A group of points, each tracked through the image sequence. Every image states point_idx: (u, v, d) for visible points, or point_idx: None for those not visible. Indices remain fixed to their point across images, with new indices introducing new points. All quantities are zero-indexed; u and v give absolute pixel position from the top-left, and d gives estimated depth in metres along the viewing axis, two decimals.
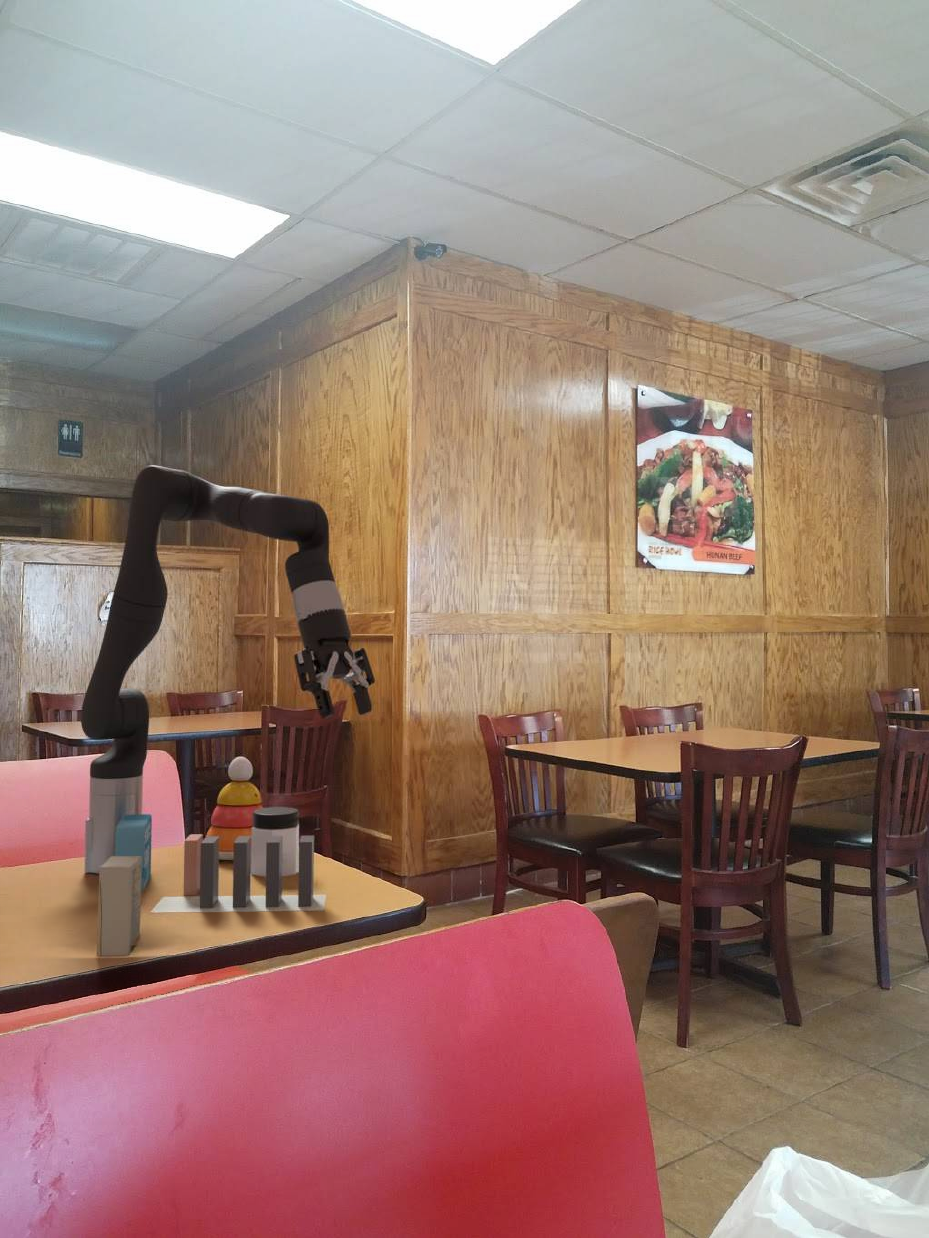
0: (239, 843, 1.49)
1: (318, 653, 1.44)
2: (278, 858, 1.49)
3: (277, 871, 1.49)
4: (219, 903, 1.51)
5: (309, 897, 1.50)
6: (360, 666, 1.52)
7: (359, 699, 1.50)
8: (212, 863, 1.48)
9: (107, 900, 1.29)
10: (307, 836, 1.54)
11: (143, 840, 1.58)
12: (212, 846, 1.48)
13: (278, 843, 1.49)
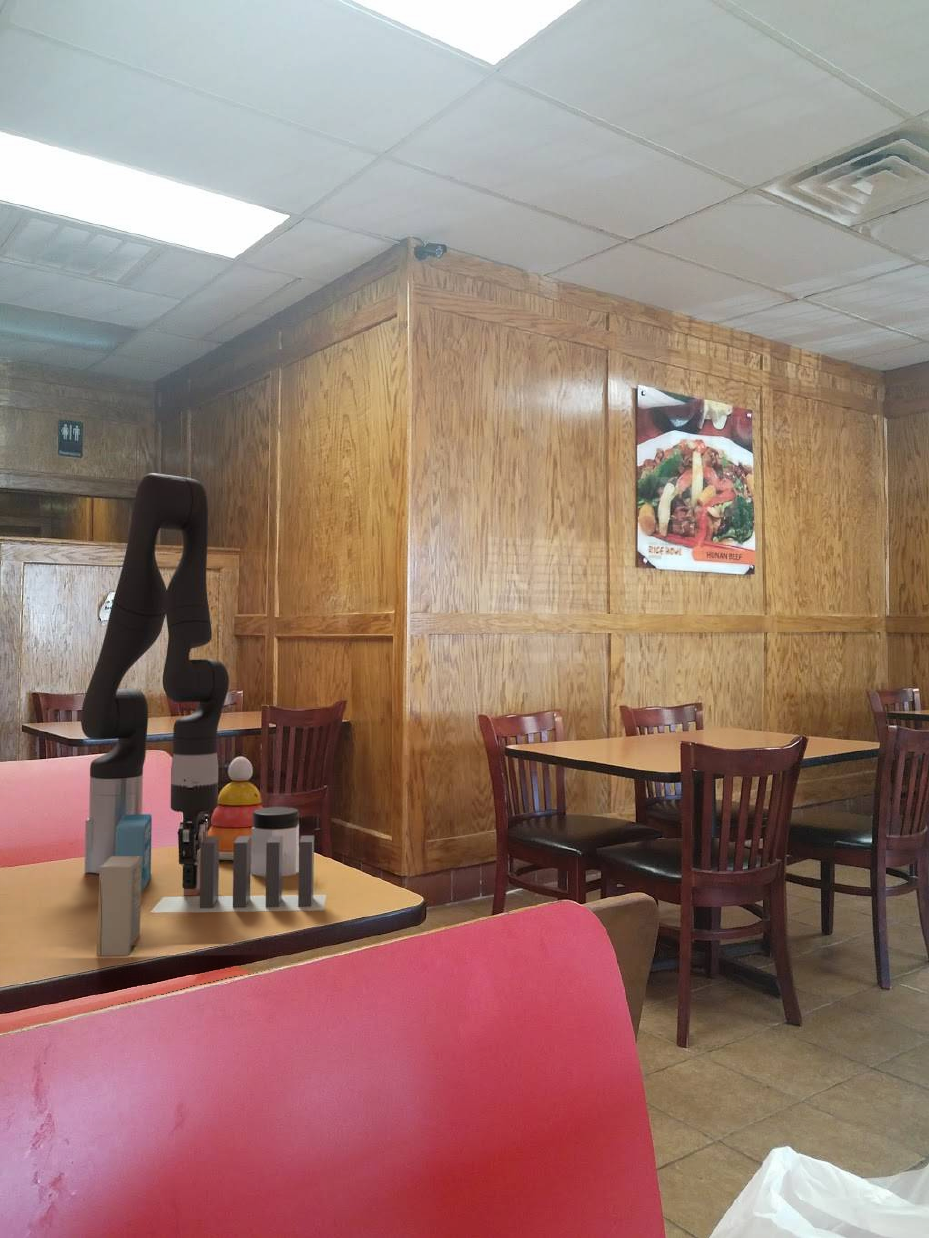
0: (239, 843, 1.49)
1: (195, 826, 1.55)
2: (278, 858, 1.49)
3: (277, 871, 1.49)
4: (219, 903, 1.51)
5: (309, 897, 1.50)
6: None
7: None
8: (212, 863, 1.48)
9: (107, 900, 1.29)
10: (307, 836, 1.54)
11: (143, 840, 1.58)
12: (212, 846, 1.48)
13: (278, 843, 1.49)
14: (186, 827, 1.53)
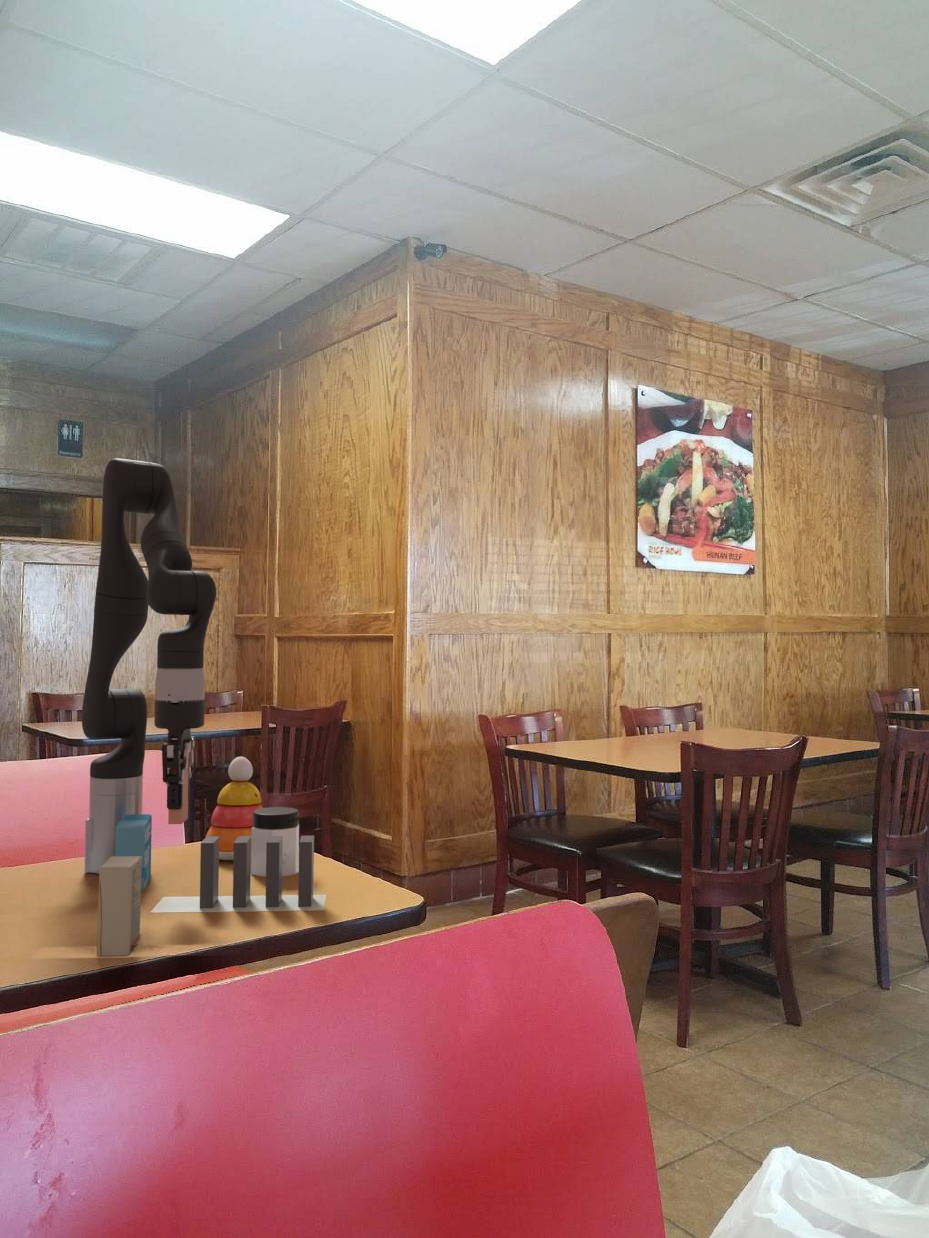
0: (239, 843, 1.49)
1: (180, 743, 1.47)
2: (278, 858, 1.49)
3: (277, 871, 1.49)
4: (219, 903, 1.51)
5: (309, 897, 1.50)
6: None
7: None
8: (212, 863, 1.48)
9: (107, 900, 1.29)
10: (307, 836, 1.54)
11: (143, 840, 1.58)
12: (212, 846, 1.48)
13: (278, 843, 1.49)
14: (170, 743, 1.45)
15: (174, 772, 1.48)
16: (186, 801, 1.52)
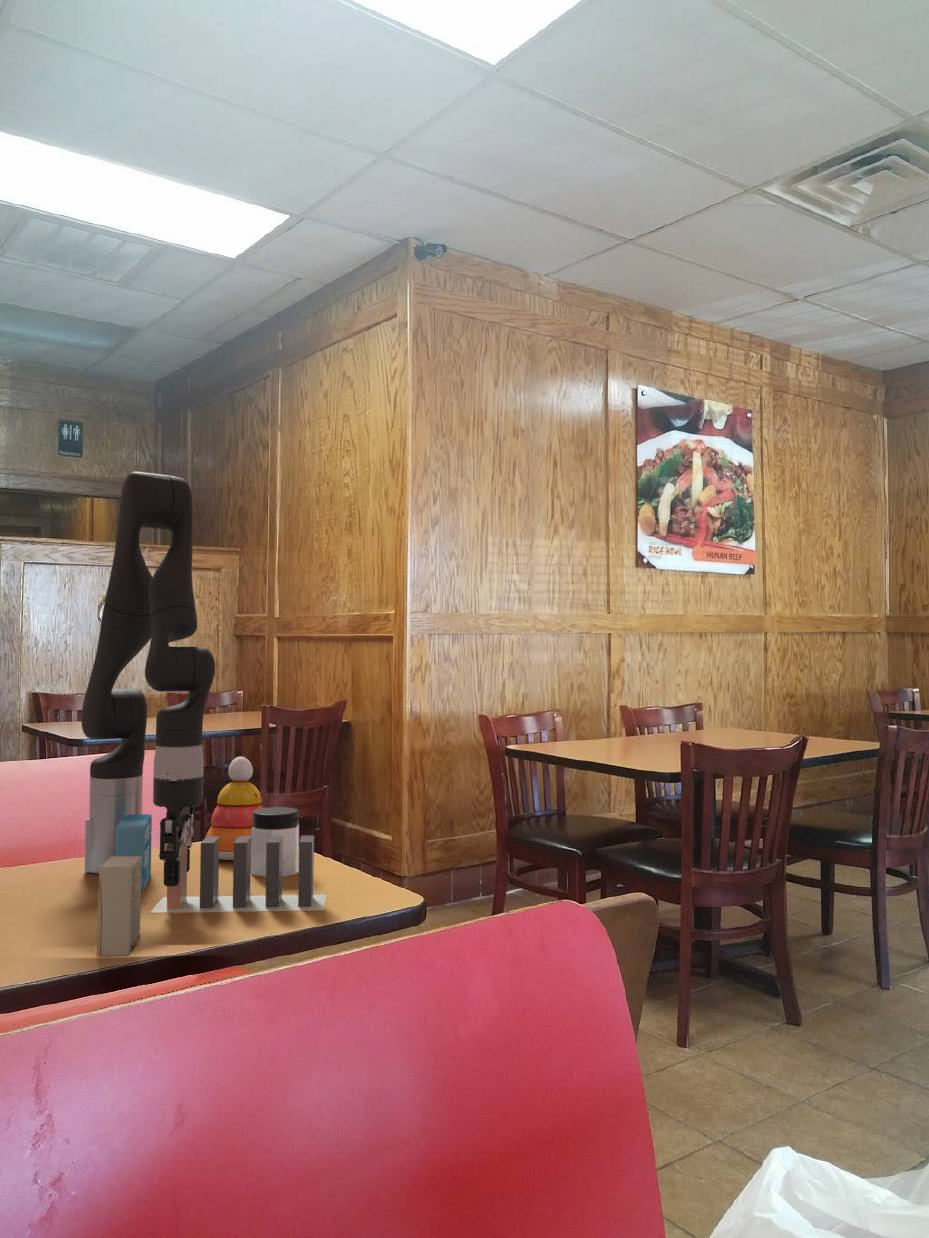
0: (239, 843, 1.49)
1: (179, 821, 1.47)
2: (278, 858, 1.49)
3: (277, 871, 1.49)
4: (219, 903, 1.51)
5: (309, 897, 1.50)
6: None
7: None
8: (212, 863, 1.48)
9: (107, 900, 1.29)
10: (307, 836, 1.54)
11: (143, 840, 1.58)
12: (212, 846, 1.48)
13: (278, 843, 1.49)
14: None
15: None
16: (185, 883, 1.51)
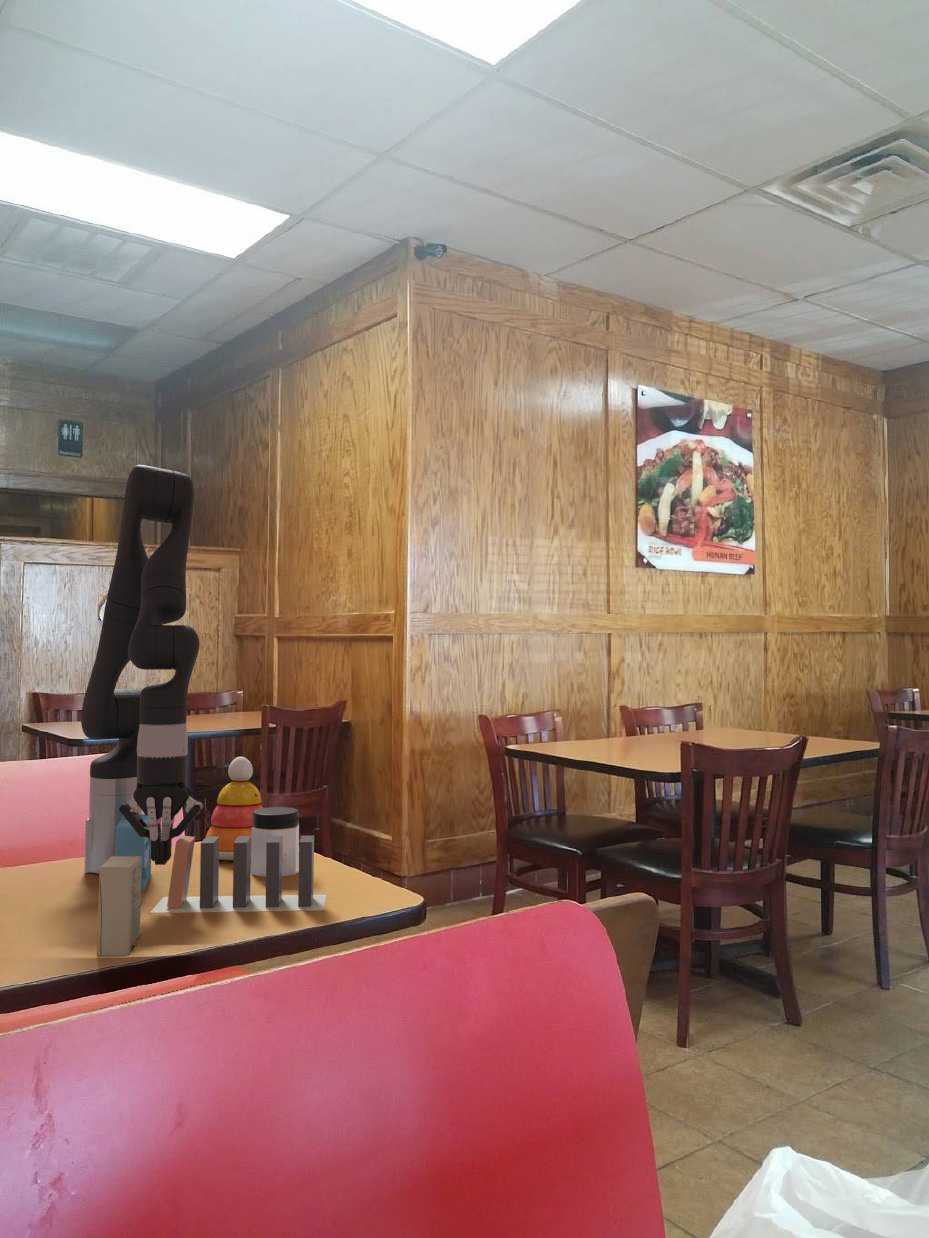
0: (239, 843, 1.49)
1: (136, 799, 1.49)
2: (278, 858, 1.49)
3: (277, 871, 1.49)
4: (219, 903, 1.51)
5: (309, 897, 1.50)
6: None
7: None
8: (212, 863, 1.48)
9: (107, 900, 1.29)
10: (307, 836, 1.54)
11: (143, 840, 1.58)
12: (212, 846, 1.48)
13: (278, 843, 1.49)
14: (128, 801, 1.50)
15: (179, 856, 1.48)
16: (187, 883, 1.52)
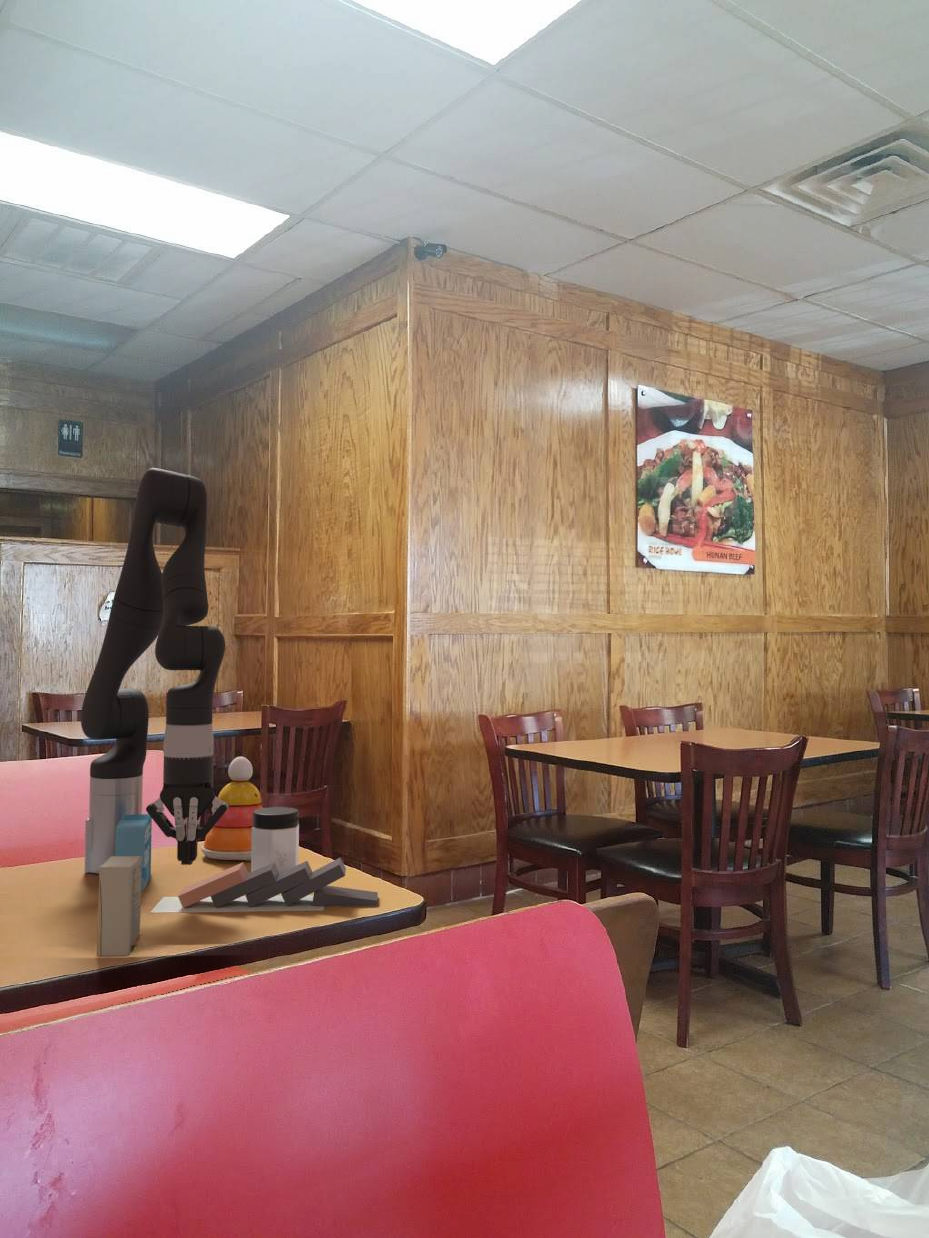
0: (306, 873, 1.50)
1: (162, 799, 1.49)
2: (330, 882, 1.50)
3: (318, 888, 1.50)
4: None
5: (321, 904, 1.50)
6: None
7: None
8: (256, 888, 1.49)
9: (107, 900, 1.29)
10: None
11: (143, 840, 1.58)
12: (272, 881, 1.49)
13: (343, 875, 1.50)
14: None
15: (228, 879, 1.49)
16: None
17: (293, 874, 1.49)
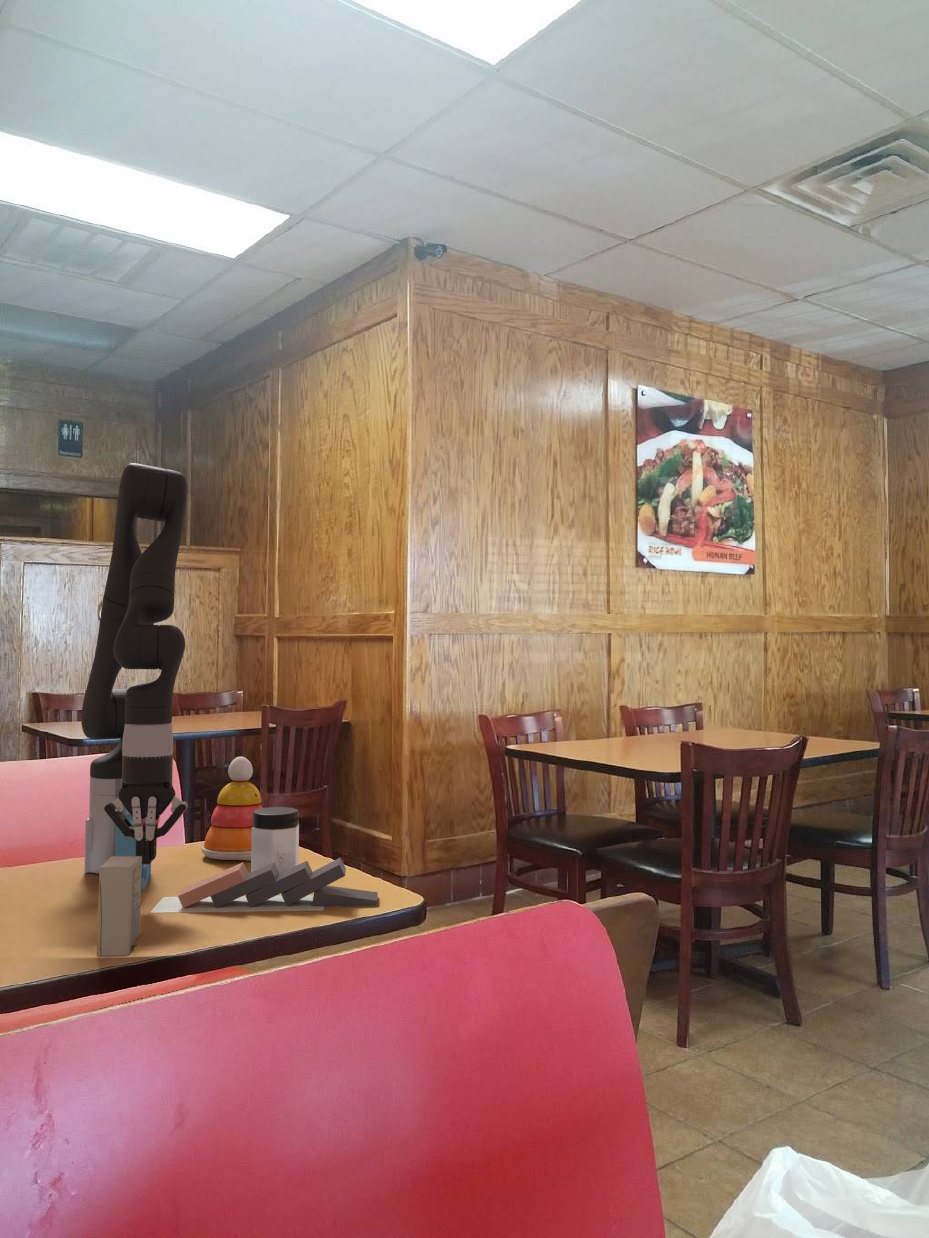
0: (306, 873, 1.50)
1: (121, 799, 1.49)
2: (330, 882, 1.50)
3: (318, 888, 1.50)
4: None
5: (321, 904, 1.50)
6: None
7: None
8: (256, 888, 1.49)
9: (107, 900, 1.29)
10: None
11: None
12: (272, 881, 1.49)
13: (343, 875, 1.50)
14: (113, 801, 1.50)
15: (228, 879, 1.49)
16: None
17: (293, 874, 1.49)
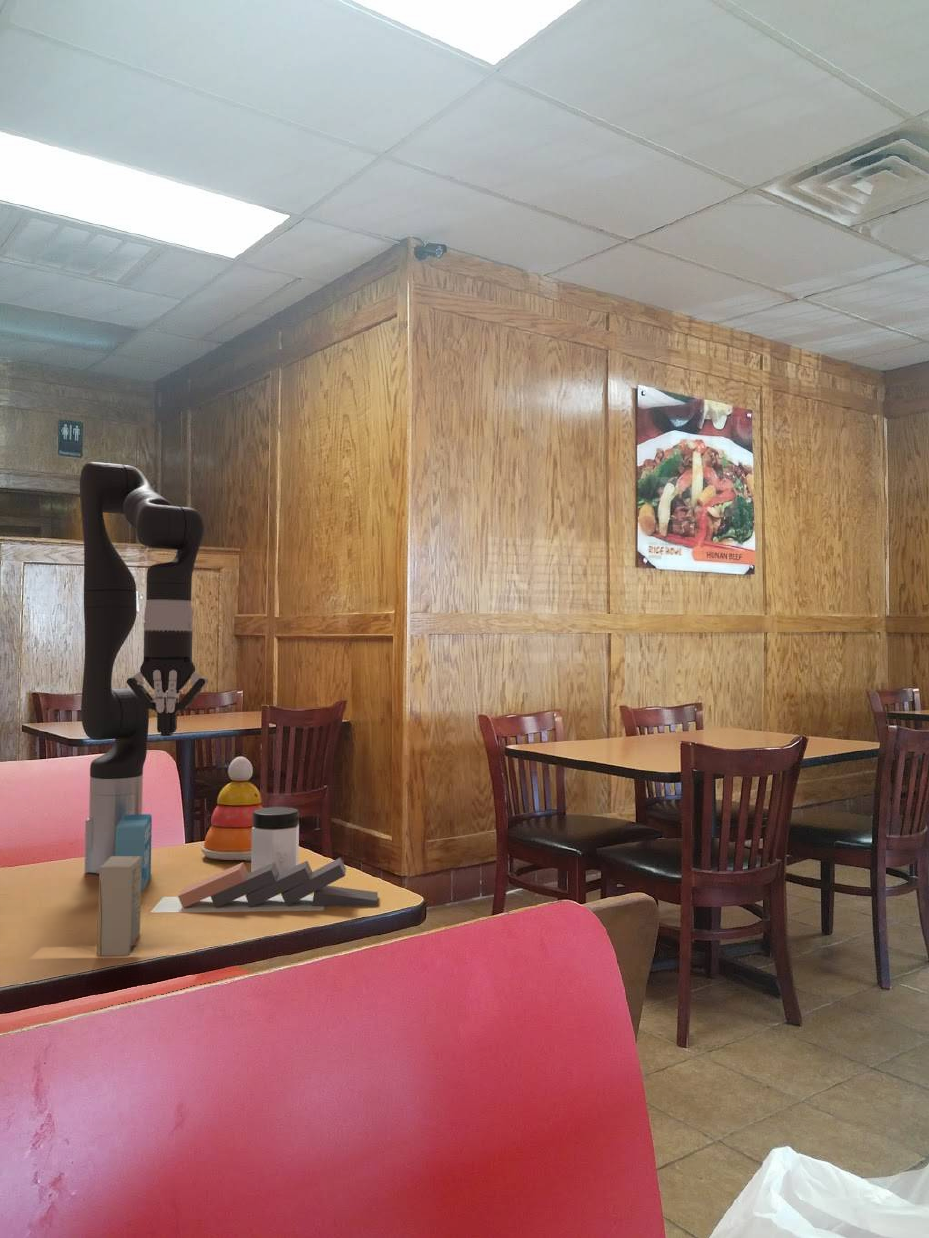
0: (306, 873, 1.50)
1: (142, 672, 1.54)
2: (330, 882, 1.50)
3: (318, 888, 1.50)
4: None
5: (321, 904, 1.50)
6: None
7: None
8: (256, 888, 1.49)
9: (107, 900, 1.29)
10: None
11: (143, 840, 1.58)
12: (272, 881, 1.49)
13: (343, 875, 1.50)
14: (135, 675, 1.55)
15: (228, 879, 1.49)
16: None
17: (293, 874, 1.49)
